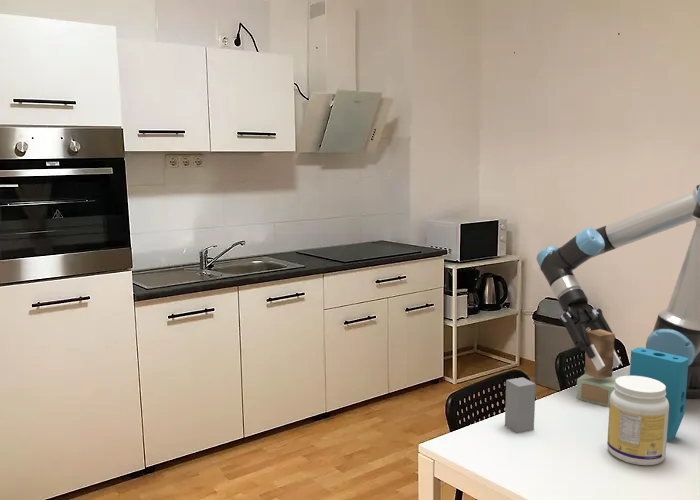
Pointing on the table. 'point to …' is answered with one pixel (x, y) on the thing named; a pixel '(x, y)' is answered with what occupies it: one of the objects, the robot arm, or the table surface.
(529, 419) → the slate block
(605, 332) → the walnut block
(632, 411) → the supplement tub
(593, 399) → the base block
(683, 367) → the block
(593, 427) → the table surface
